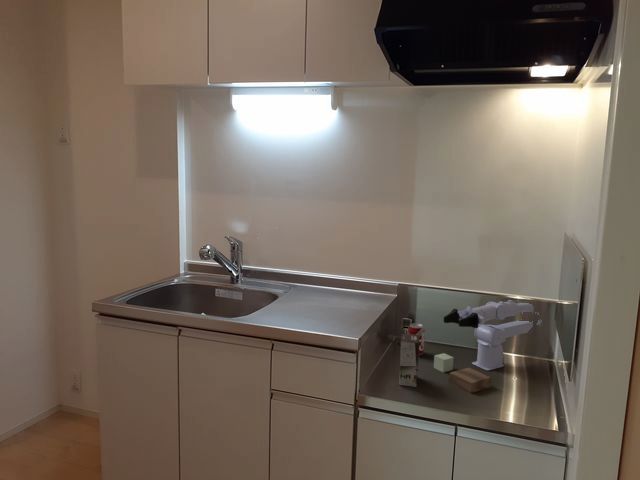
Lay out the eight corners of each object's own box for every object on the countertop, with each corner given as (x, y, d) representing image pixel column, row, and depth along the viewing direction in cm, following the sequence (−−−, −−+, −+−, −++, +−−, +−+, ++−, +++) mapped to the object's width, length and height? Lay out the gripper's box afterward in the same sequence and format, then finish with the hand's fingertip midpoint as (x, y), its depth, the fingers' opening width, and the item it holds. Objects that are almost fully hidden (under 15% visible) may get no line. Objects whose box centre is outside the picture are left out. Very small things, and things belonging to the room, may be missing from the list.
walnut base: (468, 377, 194) (469, 367, 193) (490, 388, 185) (491, 377, 185) (448, 383, 188) (449, 372, 188) (470, 394, 180) (471, 383, 179)
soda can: (406, 356, 212) (408, 327, 211) (406, 350, 219) (408, 322, 217) (423, 357, 211) (425, 328, 209) (423, 351, 218) (424, 323, 216)
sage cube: (443, 365, 204) (444, 353, 203) (452, 370, 200) (453, 357, 199) (433, 367, 201) (434, 355, 200) (443, 372, 197) (443, 359, 196)
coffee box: (417, 387, 184) (419, 343, 181) (398, 385, 185) (400, 341, 183) (417, 376, 193) (419, 334, 190) (399, 374, 194) (401, 332, 191)
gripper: (464, 301, 204) (437, 307, 197) (493, 307, 191) (465, 314, 185) (465, 319, 204) (438, 326, 198) (494, 326, 192) (466, 333, 185)
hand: (451, 321), depth 191 cm, fingers open, 7 cm apart
